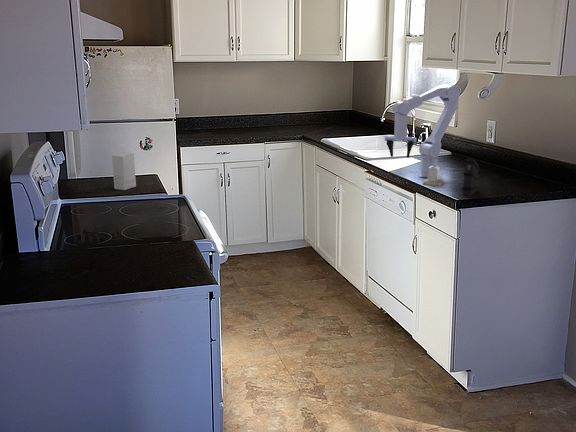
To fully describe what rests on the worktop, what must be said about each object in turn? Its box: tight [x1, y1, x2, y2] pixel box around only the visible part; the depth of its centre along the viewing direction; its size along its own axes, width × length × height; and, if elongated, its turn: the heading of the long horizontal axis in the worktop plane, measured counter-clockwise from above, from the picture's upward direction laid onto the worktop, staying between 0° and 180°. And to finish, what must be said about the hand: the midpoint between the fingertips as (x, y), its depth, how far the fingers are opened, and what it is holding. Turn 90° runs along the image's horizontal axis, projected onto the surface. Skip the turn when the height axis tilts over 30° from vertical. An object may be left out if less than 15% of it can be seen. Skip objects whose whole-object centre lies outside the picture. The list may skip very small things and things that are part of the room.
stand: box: [422, 177, 445, 187], centre depth 299 cm, size 8×8×2 cm
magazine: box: [461, 158, 481, 197], centre depth 278 cm, size 4×13×15 cm, turn 151°
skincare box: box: [111, 152, 137, 191], centre depth 297 cm, size 8×7×16 cm
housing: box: [427, 165, 441, 182], centre depth 298 cm, size 6×4×7 cm, turn 158°
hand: (399, 156), depth 308 cm, fingers open, 7 cm apart
